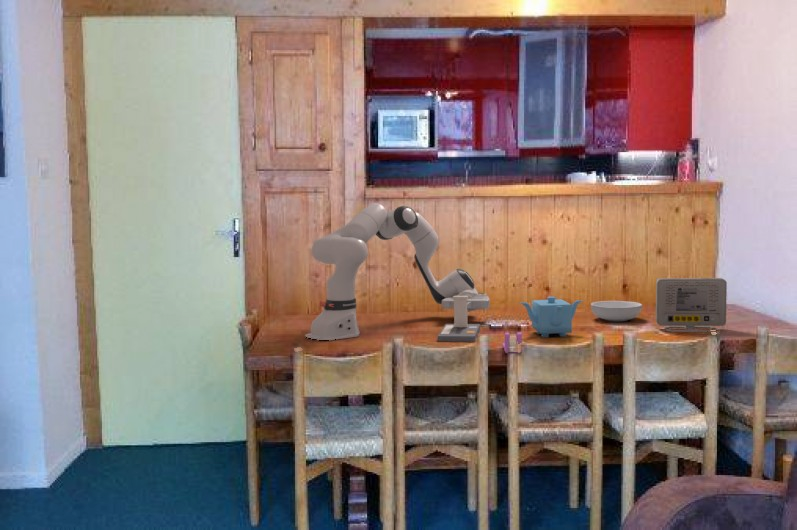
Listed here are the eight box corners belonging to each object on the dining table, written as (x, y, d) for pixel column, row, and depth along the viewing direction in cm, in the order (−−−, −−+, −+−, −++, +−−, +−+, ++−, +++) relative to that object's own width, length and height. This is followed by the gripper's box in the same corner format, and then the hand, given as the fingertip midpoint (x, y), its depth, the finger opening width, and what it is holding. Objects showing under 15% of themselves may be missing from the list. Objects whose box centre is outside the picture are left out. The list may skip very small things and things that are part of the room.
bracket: (521, 353, 287) (521, 333, 287) (505, 353, 287) (505, 333, 287) (517, 345, 300) (516, 326, 300) (501, 346, 300) (501, 327, 300)
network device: (722, 327, 323) (723, 277, 321) (727, 332, 315) (728, 280, 313) (654, 327, 328) (655, 277, 326) (657, 331, 319) (658, 280, 317)
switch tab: (454, 326, 329) (453, 295, 328) (468, 326, 328) (467, 295, 327) (453, 327, 326) (452, 296, 325) (467, 327, 325) (467, 296, 324)
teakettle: (543, 328, 331) (542, 292, 330) (585, 333, 319) (585, 295, 318) (517, 336, 317) (517, 298, 316) (561, 341, 305) (560, 302, 304)
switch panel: (445, 328, 337) (445, 323, 336) (480, 328, 334) (480, 323, 334) (437, 341, 311) (437, 335, 311) (474, 341, 309) (474, 336, 308)
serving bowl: (652, 319, 346) (652, 303, 345) (621, 326, 333) (621, 309, 332) (611, 314, 362) (611, 298, 361) (580, 320, 349) (580, 304, 348)
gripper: (443, 293, 355) (438, 298, 341) (490, 293, 351) (488, 298, 338) (443, 308, 356) (439, 313, 342) (491, 308, 352) (488, 313, 338)
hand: (464, 306), depth 340 cm, fingers closed
